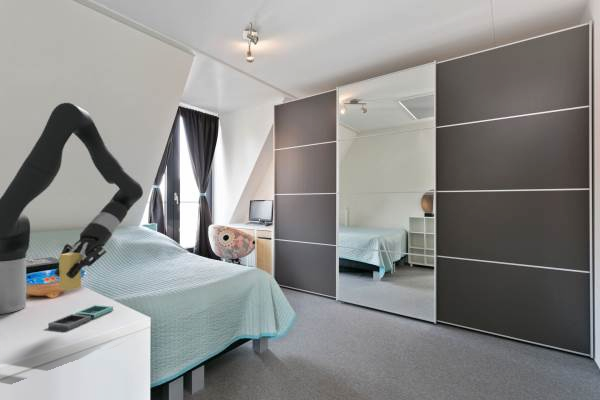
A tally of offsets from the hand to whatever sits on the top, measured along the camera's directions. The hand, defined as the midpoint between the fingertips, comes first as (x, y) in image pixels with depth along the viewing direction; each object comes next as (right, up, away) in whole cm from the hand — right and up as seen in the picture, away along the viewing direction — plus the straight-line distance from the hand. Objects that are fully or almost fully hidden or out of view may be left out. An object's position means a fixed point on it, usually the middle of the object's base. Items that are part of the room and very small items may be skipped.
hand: (63, 275), depth 85 cm
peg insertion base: (+1, -16, +5) cm, 17 cm away
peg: (0, -4, +2) cm, 4 cm away
